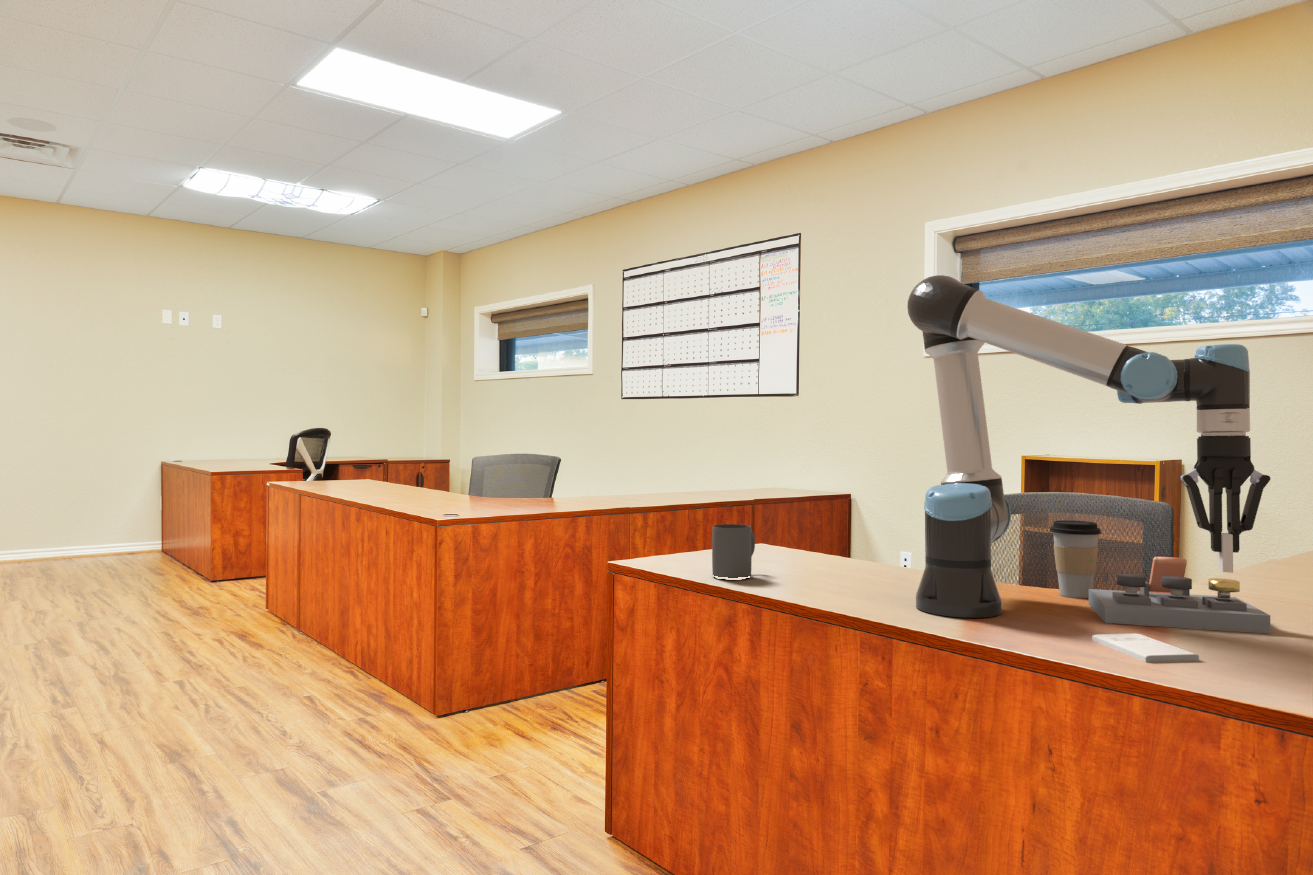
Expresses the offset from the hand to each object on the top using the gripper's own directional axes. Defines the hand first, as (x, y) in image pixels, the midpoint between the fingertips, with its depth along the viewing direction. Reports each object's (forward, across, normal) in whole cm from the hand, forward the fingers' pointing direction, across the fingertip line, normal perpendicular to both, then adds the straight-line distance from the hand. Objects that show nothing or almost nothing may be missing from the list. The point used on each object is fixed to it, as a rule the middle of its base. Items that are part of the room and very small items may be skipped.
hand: (1225, 571), depth 136 cm
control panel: (+9, -7, +3) cm, 12 cm away
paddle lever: (+5, -7, +8) cm, 12 cm away
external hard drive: (+10, -17, -23) cm, 30 cm away
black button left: (+4, -14, 0) cm, 15 cm away
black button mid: (+5, -7, 0) cm, 9 cm away
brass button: (+5, 0, 0) cm, 5 cm away
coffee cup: (+9, -20, +20) cm, 30 cm away
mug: (+9, -91, +20) cm, 94 cm away
